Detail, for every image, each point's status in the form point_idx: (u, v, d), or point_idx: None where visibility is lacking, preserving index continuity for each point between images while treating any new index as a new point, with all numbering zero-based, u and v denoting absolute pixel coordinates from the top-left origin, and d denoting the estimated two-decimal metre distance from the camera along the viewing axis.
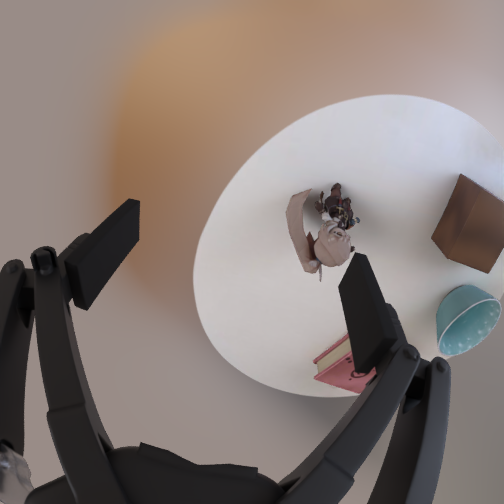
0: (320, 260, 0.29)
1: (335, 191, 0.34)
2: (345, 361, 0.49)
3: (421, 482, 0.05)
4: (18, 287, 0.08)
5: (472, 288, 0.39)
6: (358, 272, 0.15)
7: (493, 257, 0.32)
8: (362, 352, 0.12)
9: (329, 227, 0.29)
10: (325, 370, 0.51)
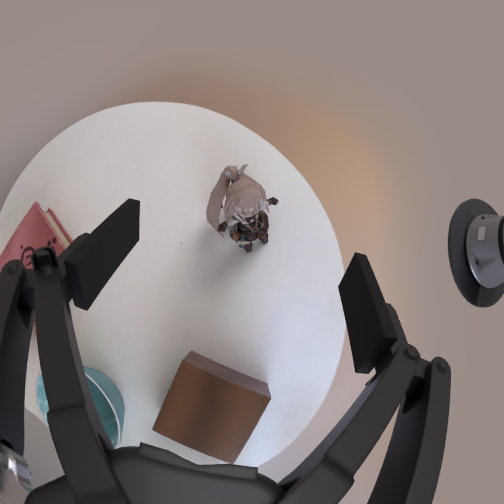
0: (238, 180, 0.29)
1: (266, 232, 0.38)
2: (50, 238, 0.35)
3: (421, 482, 0.05)
4: (18, 287, 0.08)
5: (123, 414, 0.33)
6: (358, 272, 0.15)
7: (175, 434, 0.30)
8: (362, 352, 0.12)
9: (261, 199, 0.31)
10: (43, 214, 0.35)
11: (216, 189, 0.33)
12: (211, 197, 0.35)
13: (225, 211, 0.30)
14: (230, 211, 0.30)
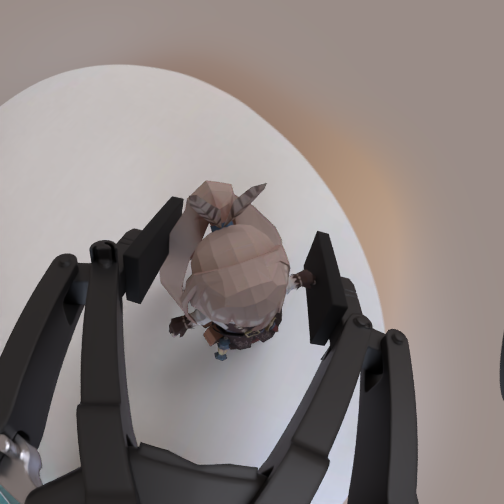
0: (230, 228, 0.10)
1: None
2: None
3: (400, 463, 0.06)
4: (68, 283, 0.09)
5: None
6: (317, 248, 0.16)
7: None
8: (316, 322, 0.13)
9: None
10: None
11: (178, 231, 0.14)
12: (169, 244, 0.16)
13: (184, 305, 0.11)
14: (198, 307, 0.11)
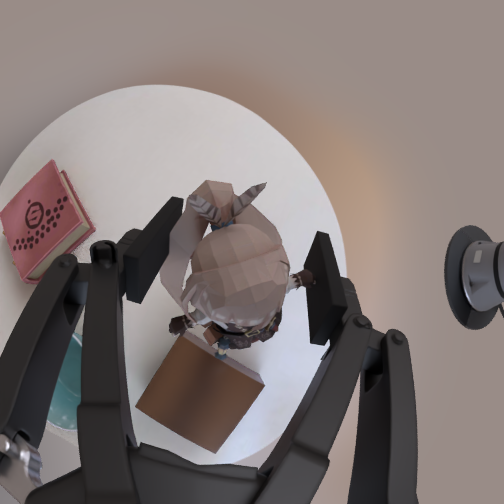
0: (230, 227, 0.10)
1: None
2: (61, 196, 0.34)
3: (400, 463, 0.06)
4: (68, 283, 0.09)
5: None
6: (317, 248, 0.16)
7: (159, 414, 0.29)
8: (316, 322, 0.13)
9: None
10: (58, 172, 0.35)
11: (178, 231, 0.14)
12: None
13: (184, 305, 0.11)
14: (197, 307, 0.11)
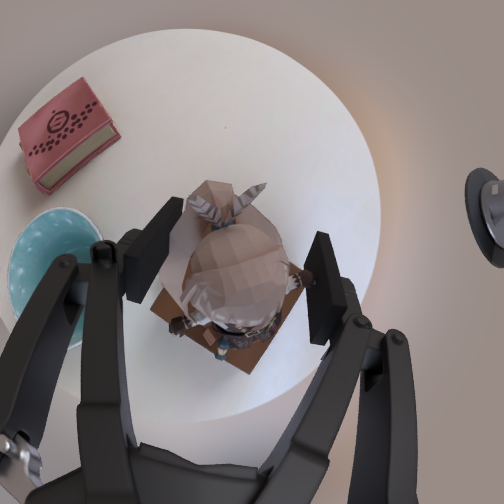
0: (230, 227, 0.10)
1: None
2: (91, 102, 0.32)
3: (400, 463, 0.06)
4: (68, 283, 0.09)
5: None
6: (317, 248, 0.16)
7: None
8: (316, 322, 0.13)
9: None
10: None
11: (178, 231, 0.14)
12: (169, 244, 0.16)
13: (184, 305, 0.11)
14: (197, 307, 0.11)
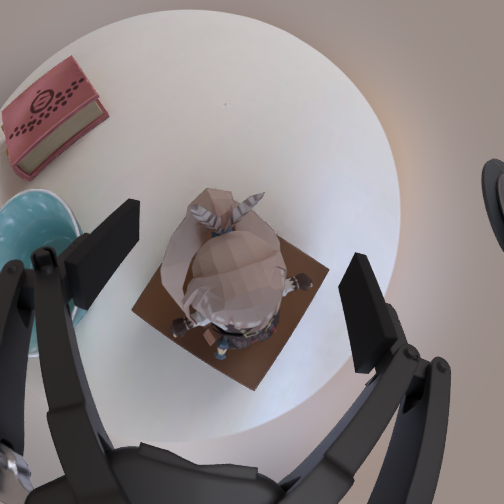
0: (230, 234, 0.11)
1: None
2: (77, 78, 0.26)
3: (421, 482, 0.05)
4: (18, 287, 0.08)
5: None
6: (358, 272, 0.15)
7: (168, 320, 0.21)
8: (362, 352, 0.12)
9: None
10: None
11: (180, 235, 0.15)
12: (170, 247, 0.16)
13: (186, 307, 0.11)
14: (198, 309, 0.11)
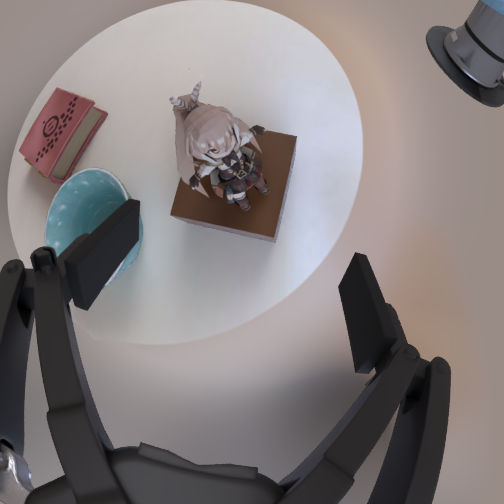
0: (195, 108, 0.18)
1: (263, 178, 0.27)
2: (71, 99, 0.35)
3: (421, 482, 0.05)
4: (18, 287, 0.08)
5: (140, 226, 0.34)
6: (358, 272, 0.15)
7: (197, 209, 0.30)
8: (362, 352, 0.12)
9: (237, 128, 0.20)
10: None
11: (178, 135, 0.23)
12: (177, 148, 0.24)
13: (188, 155, 0.20)
14: (195, 153, 0.20)
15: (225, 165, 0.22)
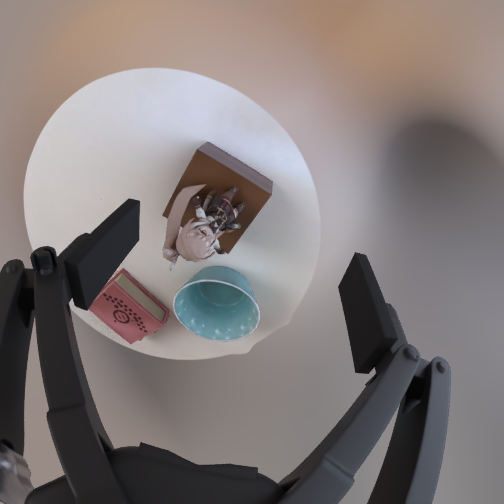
0: (178, 251, 0.30)
1: (227, 193, 0.36)
2: (104, 297, 0.54)
3: (421, 482, 0.05)
4: (18, 287, 0.08)
5: (225, 270, 0.49)
6: (358, 272, 0.15)
7: (231, 236, 0.42)
8: (362, 352, 0.12)
9: (196, 223, 0.30)
10: None
11: None
12: None
13: (206, 258, 0.32)
14: None
15: (216, 230, 0.33)
